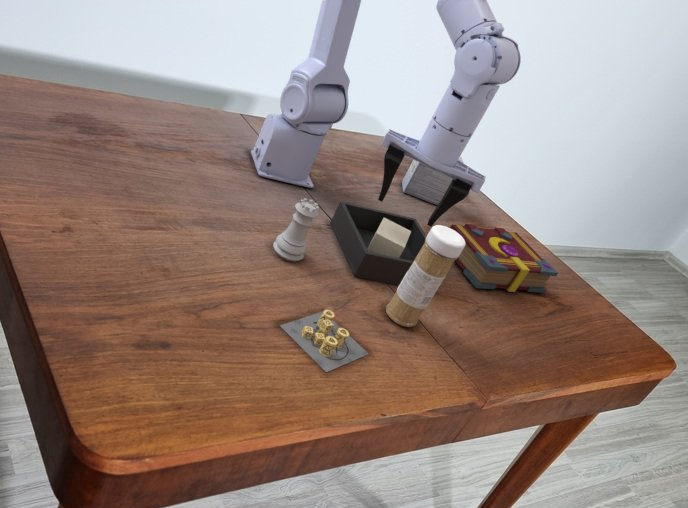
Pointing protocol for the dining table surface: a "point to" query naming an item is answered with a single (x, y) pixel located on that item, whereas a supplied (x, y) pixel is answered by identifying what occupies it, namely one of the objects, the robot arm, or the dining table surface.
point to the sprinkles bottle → (425, 275)
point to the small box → (389, 239)
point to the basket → (357, 233)
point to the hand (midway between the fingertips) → (405, 210)
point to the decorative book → (501, 260)
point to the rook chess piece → (296, 232)
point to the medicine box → (426, 182)
